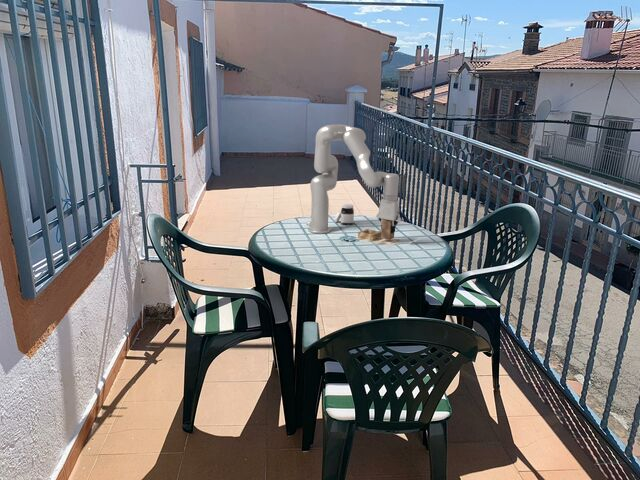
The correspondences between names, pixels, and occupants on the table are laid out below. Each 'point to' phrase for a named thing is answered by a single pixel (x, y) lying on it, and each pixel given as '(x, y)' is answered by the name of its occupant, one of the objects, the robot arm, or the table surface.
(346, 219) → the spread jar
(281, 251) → the table surface
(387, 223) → the walnut block
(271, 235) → the table surface
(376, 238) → the pocket board
